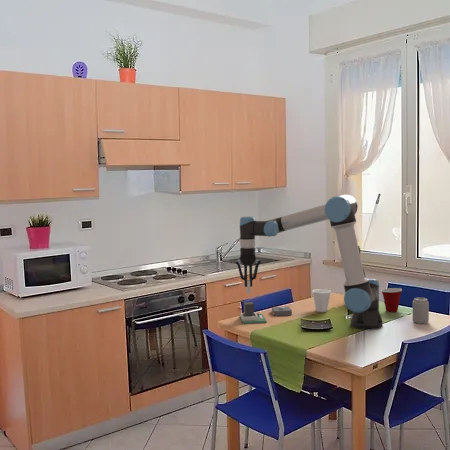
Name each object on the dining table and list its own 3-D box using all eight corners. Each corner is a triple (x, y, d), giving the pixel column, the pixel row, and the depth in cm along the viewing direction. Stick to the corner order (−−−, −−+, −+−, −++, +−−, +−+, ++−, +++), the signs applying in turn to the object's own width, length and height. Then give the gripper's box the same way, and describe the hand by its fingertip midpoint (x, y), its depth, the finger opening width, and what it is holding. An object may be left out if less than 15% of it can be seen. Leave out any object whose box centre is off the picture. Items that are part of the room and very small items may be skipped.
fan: (291, 315, 286) (291, 309, 286) (274, 315, 286) (274, 310, 285) (288, 310, 295) (288, 305, 295) (272, 311, 294) (272, 306, 294)
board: (266, 322, 273) (266, 316, 272) (242, 323, 272) (242, 318, 271) (262, 315, 287) (262, 310, 286) (239, 316, 286) (239, 311, 285)
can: (429, 321, 268) (429, 297, 267) (427, 325, 261) (428, 300, 260) (413, 319, 271) (413, 296, 270) (411, 323, 265) (411, 299, 263)
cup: (330, 313, 287) (330, 293, 286) (311, 313, 289) (311, 292, 288) (331, 309, 297) (330, 289, 296) (312, 308, 299) (312, 288, 298)
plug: (253, 319, 276) (253, 304, 275) (245, 319, 275) (244, 304, 275) (252, 316, 281) (252, 301, 280) (244, 317, 280) (243, 302, 280)
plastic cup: (385, 307, 297) (385, 286, 296) (405, 310, 290) (405, 288, 289) (377, 311, 288) (377, 289, 287) (397, 314, 281) (397, 292, 280)
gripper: (259, 245, 279) (260, 290, 281) (234, 246, 278) (235, 291, 280) (261, 247, 271) (262, 294, 273) (235, 248, 270) (236, 295, 272)
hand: (248, 292), depth 277 cm, fingers closed
